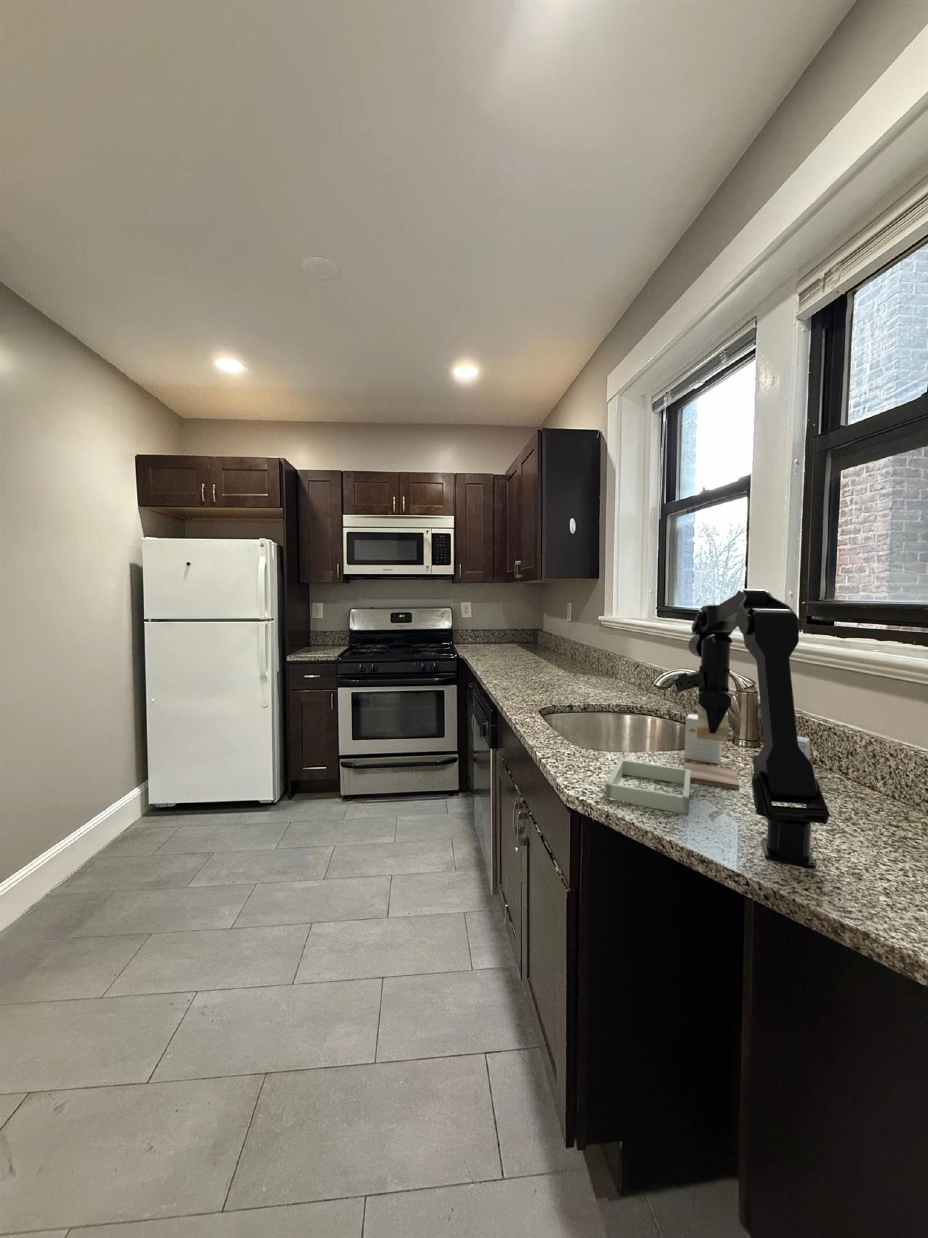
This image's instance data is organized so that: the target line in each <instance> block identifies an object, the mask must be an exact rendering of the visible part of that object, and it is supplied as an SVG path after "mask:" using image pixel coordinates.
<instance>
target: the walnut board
mask: <svg viewBox="0 0 928 1238" xmlns="http://www.w3.org/2000/svg"><path fill="white" fill-rule="evenodd" d="M683 762H684V763H683V769H689V770H691V775H690V783H695V784H701V785H702V784H703V785H707V786H708V785H709V786H713V787H714V786H715V787H719V788H724V789H725V788H726V789H732V790H740V780H739V776H738V772H737V769H735V768H727V767H719V766H714V765H708V764H707V765H706V764H699V763H694V762H693V763H692V762H686V761H683Z"/></svg>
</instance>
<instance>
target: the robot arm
mask: <svg viewBox="0 0 928 1238" xmlns="http://www.w3.org/2000/svg"><path fill="white" fill-rule="evenodd" d="M736 628H738V629H739V630H740V631H739V632H740V633H741V635H742V637H743V642H744V647H745V648H746V650H748V652H749V653H750V655H752V657H753V658H754V659H755V661H756V668H757V669H756V670H757V680H758V681H757V682H758V693H759V704H760V714H761V726H762V727H761V728H762V736H763V737H762V738H763V739H762V740H763V746H762V748H761V750H760V752H759V753H758V754H757V755H754V756H753V758H752V765H753V767H752V768H753V774H752V778H751V785H752V796H753V803H754V804H753V805H754V808H755V814H756V815H758V816H761V817H764V818H765V819H766V820H767V829H766V832H767V833H766V838H762V839H761V845H762V848H763V851H764V856H765V858H767V859H769V860H773V861H778V862H782V863H787V864H792V865H798V866H801V867H807V868H812V869H816V868H817V862H815V859H814V857H813V854H812V852H811V838H812V837H811V836H812V824H821V825H827V824H828V821H829V817H830V815H831V814H830V811H829V809H828V806H827V804H826V801H825V798H824V796H823V794H822V793H823V792H822V790H821V787H820V785H819V782H818V780H817V778H816V776H815V769H814V766H813V763H812V762H811V760H810V758H809V759H808V758H807V757H806V756H805V754H804V753H803V752H802V750H801V749H800V748H799V745H798V737H799V736H798V730H797V729H798V728H797V720H796V719H797V718H796V710H795V702H794V701H795V700H794V691H793V690H794V689H793V680H792V671H791V670H792V669H791V663H790V657H791V656H792V655H793V652H794V651H795V649H796V647H797V646H798V645H799V642H800V630H801V621H800V618H799V617H798V615H797V614H796V613H795V612H794V611H793V609H792V608H791V606H790V605H788V604H786V603H785V602H783V601H782V600H779V599H777V598H775V597H774V596H773V595H772V594H771V593H770V591H768V590H765V589H761V588H760V589H754V588H752V589H751V588H741V590H740V589H739V590H738V591H737V592H736V593H735V594H734V595H733V596H731V597H729V598H728V599H726V600H724V601H722V602H721V603H720V604H711V605H709V604H708V605H703V606H702V607H701V608H700V609H699V610H698V612H697V614H696V616H695V618H694V621H693V622H692V626H691V631H692V632H691V634H692V635H693V636H692V637H691V638H690V640H689V642H688V650H689V652H690V653H691V654H692V655H693V656H695V657H697V658H700V665H699V666H698V667H699V668H698V671H694V672H688V673H687V672H683V673H678V675H677V676H674V677H672V681H673V683H674V686H675V689H676V692H677V693H682V692H684V691H687V690H691V689H695V688H698V700H697V701H698V703H697V704H698V705H700V706H701V708H703V709H705V710H706V714H707V720H708V726H709V732H710V733H712V734H715V733H716V731H717V729H718V727H719V725H720V723H721V721H722V720H723V718H724V716H725V714H726V712H728V711H729V709H730V708H732V696H731V694H729V693H730V686H729V684H730V683H729V681H730V679H729V678H730V673H731V672H730V671H731V669H730V659H731V658H730V656H731V644H733V639H732V638H731V637H730V636H731V634H732V633H733V632H734V631H735V630H736ZM797 736H798V737H797ZM773 803H778V804H794V805H804V806H805V807H801V806H800V807H799V806H789V805H776V804H775V805H773Z"/></svg>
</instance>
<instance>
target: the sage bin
mask: <svg viewBox="0 0 928 1238" xmlns="http://www.w3.org/2000/svg"><path fill="white" fill-rule="evenodd" d="M623 775H629V776H634V777H638V778H639V777H641V778H646V779H652V780H659V781H663V782H664V781H665V782H671V783H677V784H683V791H682V792H683V795H680V794H675V793H669V792H665V791H664V792H663V791H657V790H651V789H646V788H641V787H640V788H639V787H635V786H630V785H629V786H628V785H623V784H619V783H620V781H621V778H622V777H623ZM690 775H691V770H689V769H684V768H681V767H675V766H667V765H662V764H657V763H656V764H655V763H648V762H643V761H642V762H641V761H635V760H627V759H622V758H619V760H618V762H616V765H615V767H614V769H613V771H612V772H611V774H610V775H609V778H608V780H607V782H606V783H605V798H606V797H607V798H612V799H615V800H619V801H624V802H627V803H626V804H629V803H631V804H630V805H636V806H640V807H645V808H651V809H656V810H657V809H658V810H663V811H667V812H672V813H673V812H674V813H677V814H683V815H689V809H690V808H689V806H690V790H691V782H690ZM619 801H618V802H619ZM624 802H623V803H624Z"/></svg>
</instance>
